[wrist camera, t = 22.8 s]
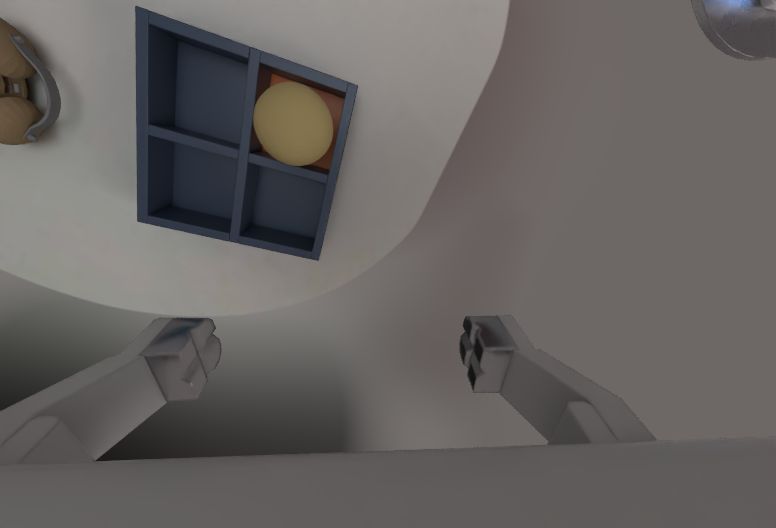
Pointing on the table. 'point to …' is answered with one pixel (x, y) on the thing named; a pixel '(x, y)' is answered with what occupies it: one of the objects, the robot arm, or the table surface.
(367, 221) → the table surface
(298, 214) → the navy compartment tray
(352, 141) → the table surface
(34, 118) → the alarm clock
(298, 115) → the light bulb
